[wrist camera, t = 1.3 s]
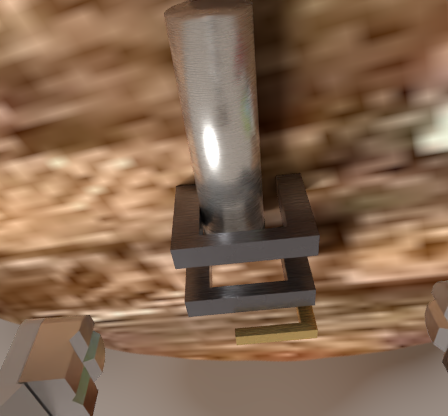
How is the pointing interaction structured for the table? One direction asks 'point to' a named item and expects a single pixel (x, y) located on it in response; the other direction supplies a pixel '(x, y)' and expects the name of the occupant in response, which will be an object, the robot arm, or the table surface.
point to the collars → (248, 252)
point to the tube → (220, 109)
